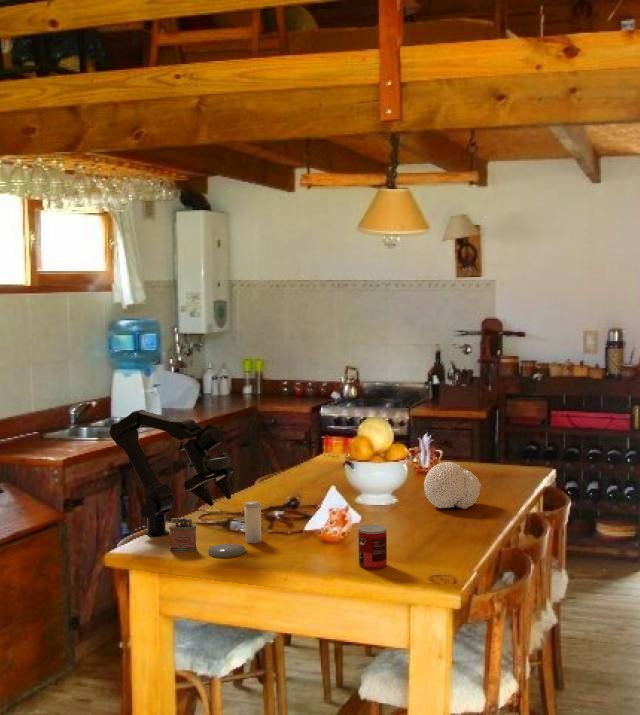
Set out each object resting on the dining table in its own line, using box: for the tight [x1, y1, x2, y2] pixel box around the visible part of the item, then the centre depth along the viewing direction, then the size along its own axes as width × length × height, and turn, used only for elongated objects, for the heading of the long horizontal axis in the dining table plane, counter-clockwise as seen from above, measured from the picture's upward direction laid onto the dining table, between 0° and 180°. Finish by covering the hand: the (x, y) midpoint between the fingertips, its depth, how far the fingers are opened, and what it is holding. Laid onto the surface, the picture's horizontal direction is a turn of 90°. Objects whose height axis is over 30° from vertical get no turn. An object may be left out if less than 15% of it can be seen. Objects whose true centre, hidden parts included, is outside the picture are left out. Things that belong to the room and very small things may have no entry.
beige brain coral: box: [423, 461, 482, 509], centre depth 340 cm, size 20×18×16 cm
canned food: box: [357, 524, 388, 571], centre depth 276 cm, size 8×8×11 cm
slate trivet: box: [207, 543, 246, 559], centre depth 292 cm, size 11×11×1 cm
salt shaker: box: [244, 500, 262, 544], centre depth 302 cm, size 5×5×12 cm
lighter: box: [168, 516, 198, 553], centre depth 294 cm, size 8×3×10 cm, turn 92°
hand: (221, 502), depth 299 cm, fingers open, 9 cm apart
